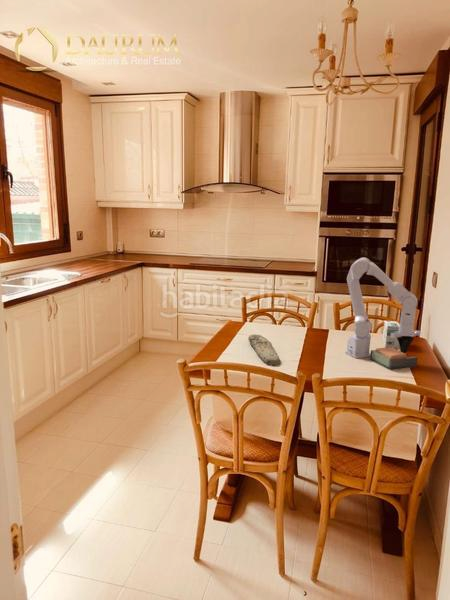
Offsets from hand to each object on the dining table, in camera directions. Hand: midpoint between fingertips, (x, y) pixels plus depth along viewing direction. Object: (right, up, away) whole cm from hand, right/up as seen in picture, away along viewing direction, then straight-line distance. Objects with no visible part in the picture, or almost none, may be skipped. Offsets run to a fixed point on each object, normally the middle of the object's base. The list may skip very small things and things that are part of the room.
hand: (403, 352), depth 188 cm
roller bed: (-5, -5, -1) cm, 7 cm away
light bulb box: (+4, +1, +24) cm, 25 cm away
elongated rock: (-61, -1, +9) cm, 61 cm away
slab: (-6, -2, -2) cm, 7 cm away
